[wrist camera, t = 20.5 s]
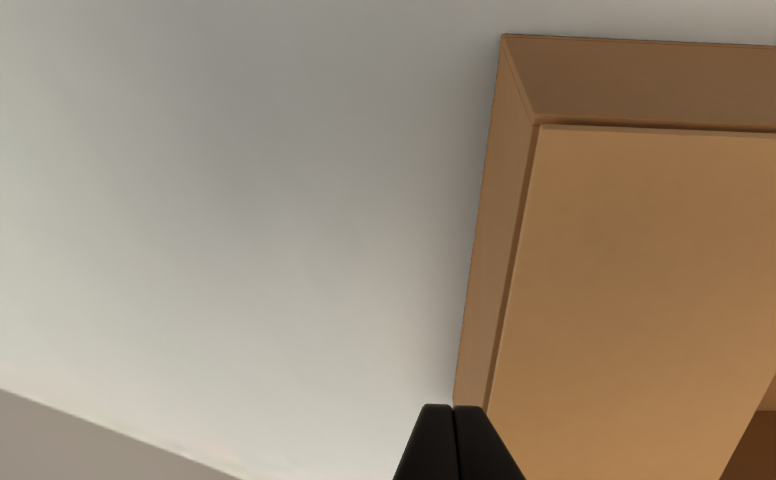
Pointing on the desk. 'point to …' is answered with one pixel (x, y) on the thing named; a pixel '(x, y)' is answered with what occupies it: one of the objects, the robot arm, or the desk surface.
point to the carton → (611, 109)
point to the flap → (639, 304)
